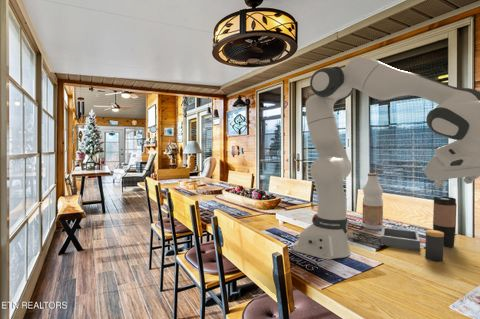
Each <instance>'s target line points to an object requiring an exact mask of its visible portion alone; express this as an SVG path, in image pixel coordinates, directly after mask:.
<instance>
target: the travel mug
mask: <svg viewBox="0 0 480 319" xmlns="http://www.w3.org/2000/svg"><path fill="white" fill-rule="evenodd" d="M432 210H433V214H432V215H433V217H432V218H433V219H432V230H436V231H440V232H443V233H444V247H443V248H450V249H451V248H454V247H455V240H456V238H455V237H456V224H457V223H456V221H457V219H456V216H457V213H456V212H457V211H456V210H457V200H456V198H455V197H449V196H442V197H438V196H434V197H433V209H432Z"/></svg>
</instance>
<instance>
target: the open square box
mask: <svg viewBox="0 0 480 319" xmlns="http://www.w3.org/2000/svg"><path fill="white" fill-rule="evenodd" d="M381 244H383V245H382V246H384V245H386V247H389V248H390V247H391V248H399V249H403V250H409V251H410V250H411V251H418V252H421V239H420V234H419V231H418V230H417V231H416V230H410V229H409V230H408V229H398V228H394V227H392V228H391V227H384V226H383V227H382V229H381V234H380V245H381Z"/></svg>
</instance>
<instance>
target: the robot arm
mask: <svg viewBox="0 0 480 319" xmlns="http://www.w3.org/2000/svg"><path fill="white" fill-rule="evenodd" d="M309 86H310V90H311V91H312V93H313V95H311V96H310V97H309V98H307V99H306V101H305V119H306V123H307V124H306V125H307V129H308V133H309V138H310V141H311V145H312V147H314V150H316V153H317V155H318V158H316V159H315V160H314V161H313V162H312V163H311V165H310V169H309V172H310V176H311V177H312V179H313V182H314V186H315V191H316V198H317V199H316V200H317V201H316V202H317V211H316V212H317V213H315V214H314V215H313V216H312V218H311V222H312V224H310V225H309V226H307V227H306V228H304V229H303V230H302V231H301V232H300V233H299V236H298V240H296V241H295V242H294V243H293V244H292V251H294V252H298V253H301V254H303V255H309V256H312V257H315V258H320V259H323V260H333V259H343V258H344V259H345V258H347V257H349V256H350V255H351V249H350V246H349V241H348V231H349V220H348V217H347V207H348V206H347V203H348V202H347V195H346V193H345V189H344V183H343V182H344V180H346V178H347V177H348V176H350V174H351V171H352V168H353V167H352V162H351V160H350V159H349V156H348V153H347V152H346V148H345V146H344V144H343V141H342V139H341V135H340V131H339V128H338V127H339V126H338V124H337V123H338V122H337V119H336V116H335V111H334V106H335V105H338V104H340V103H341V102H342V101H344V100H345V99H347V98H349V97H350V96H351V95H353V93H354V92H355V90H358V91H359V92H361V93H363V94H365V95H367V96H368V97H370V98H373V99H375V100H379V101H386V100H391V99H394V98H399V97H400V98H401V97H405V96H406V97H407V96H413V97H415V96H416V97H419V98H422V99H425V100H427V101H429V102H432V103H434V104H437V105H436V106H434V108H432V109H431V110H429V111H428V113H427V115H426V118H425V119H426V125H427V127H428V129H429V130H430V132H432V133H434V134H435V135H438V136H441V137H444V138H446V139H450V140H454V141H452V142H450V143H447V144H445V145H442V146H440V147H437V148H436V149H435V150H434V151H433V154H434V155H433V156H432V157H431V158H430V159H429V160H428V162H427V164H426V166H425V168H424V175H425V176H426V177H427V178H428V180H429V181H432V182H433V181H434V183H433V184H434V186H435V187H436V188H441V187H443V186H444V182H443V180H449V179H457V178H460V179H461V178H464V179H463V182H464V183H465V184H468V185H469V184H472V183H473V182H474V181H475V180H477V179H478V178H480V91H479V90H477V89H475V88H474V89H473V88H469V87H457V86H453V85H449V84H446V83H443V82H441V81H438V80H435V79H432V78H429V77H427V76H423V75H421V74H417V73H414V72H410V71H409V72H408V71H405V70H400V69H397V68H395V67H392V66H391V65H388V64H385V63H383V62H381V61H379V60H376V59H373V58H369V57H366V56H360V55H359V56H355V57H353V58H351V59H350V60H349V61H348V62H347V63H346V65H345V67H342V68H341V67H340V66H331V67H323V68H319V69H317V70H316V71H314V73H313V74H312V75H311V78H310V81H309Z"/></svg>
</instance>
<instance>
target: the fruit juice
mask: <svg viewBox="0 0 480 319" xmlns="http://www.w3.org/2000/svg"><path fill="white" fill-rule="evenodd" d="M367 177H368V179H367V180H366V184H365V186H363V189H362V192H363V198H362V227H363V228H365V229H368V230H373V231H374V230H375V231H377V230H378V231H379V230H382V227H384V226H383V224H384V223H383V221H384V216H383V215H384V199H383V196H382V195H383V193H384V190H383V188H382V185H381V184H380V182H379V173H377V172H375V173H374V172H370V173H367Z"/></svg>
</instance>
